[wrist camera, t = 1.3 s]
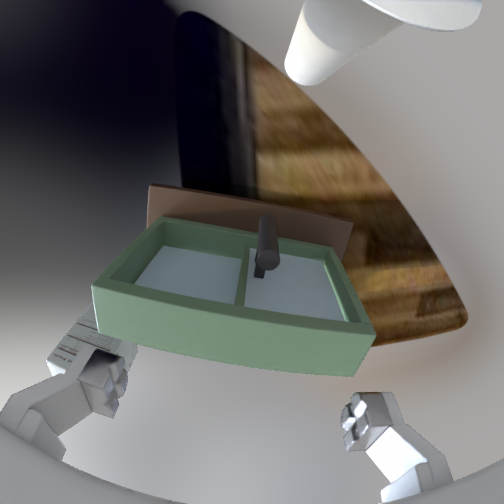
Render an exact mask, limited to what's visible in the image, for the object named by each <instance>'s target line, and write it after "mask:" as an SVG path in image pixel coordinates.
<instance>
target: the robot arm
mask: <svg viewBox="0 0 504 504" xmlns="http://www.w3.org/2000/svg"><path fill="white" fill-rule="evenodd" d="M124 366H125V359H124V357H122V356H119V355H116V354H113V353H110V352H107V351H105V350H102V349H99V348H96V347H93V346H90V345H88V344H85V345H84V346H82V347H81V349H80V350H79V352H78V353H77V355H76V356H75V358H74V359H73V361H72V362H71V364H70V365H69V367H68V368H67V370H66V371H65V373H64V374H62V373H59V374H57V375H55V376H53V377H51V378H49V379H46V380H44V381H42V382H39V383H38V384H35V385H33V386H31V387H28V388H26V389H24V390H22V391H19V392H17V393H15V394H13V395H12V396H11V397H10V398H9V400H8V402H7V403H6V404H5V406H4V407H3V409H2V411H1V412H0V504H185V503H180V502H176V501H171V500H167V499H163V498H159V497H155V496H152V495H148V494H144V493H141V492H138V491H134V490H131V489H128V488H125V487H122V486H119V485H116V484H114V483H111V482H108V481H106V480H103V479H100V478H98V477H95V476H93V475H91V474H88V473H86V472H84V471H81V470H79V469H77V468H75V467H73V466H71V465H69V464H67V463H64V462H62V458H63V456H64V454H65V451H66V448H65V446H64V445H63V444H62V442H61V441H60V439H59V438H58V437H57V436H59V435H60V434H62V433H63V432H65V431H66V430H68V429H69V428H71V427H72V426H74V425H75V424H77V423H78V422H79V421H81V420H82V419H84V418H85V417H87V416H88V415H89V414H91V413H92V412H95V413H98V414H101V415H104V416H107V417H110V418H114V416H115V413H116V411H117V409H118V406H119V402H118V398H120V397H121V396H123V395H124V393H125V390H126V386H127V380H128V376H127V371H126V370H125V369H124ZM341 427H342V429H344V431H345V432H346V434H345V436H344V442H345V448H346V451H366V453H367V454H368V455H369V456H370V458H371V459H372V460H373V461H374V462H375V464H376V465H377V466H378V467H379V469H380V470H381V471H382V472H383V473H384V475H385V476H386V477H387V478H388V479H389V481H390V482H391V484H389V485H387V486H386V487H384V488H383V489H382V490H381V497H382V503H378V504H504V458H503V459H501V460H499V461H497V462H496V463H493V464H491V465H490V466H488V467H486V468H484V469H481V470H479V471H477V472H475V473H473V474H470V475H468V476H466V477H463V478H461V479H458V480H456V481H453V478H452V475H451V472H450V469H449V466H448V463H447V460H446V458H445V456H444V455H443V454H442V453H441V452H440V451H438V450H437V449H436V448H435V447H434V446H433V445H431V444H430V443H429V442H428V441H427V440H426V439H424V438H423V437H422V436H421V435H420V434H418V433H417V432H416V431H415V430H414V429H413V428H412V427H411V426H409V425H408V424H405V423H404V420H403V418H402V415H401V412H400V410H399V407H398V404H397V402H396V399H395V396H394V394H393V393H392V392H356V393H354V394H353V396H352V397H351V403H349V404H347V405H346V406H345V408H344V409H343V410H342V414H341Z"/></svg>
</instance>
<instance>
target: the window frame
mask: <svg viewBox="0 0 504 504" xmlns="http://www.w3.org/2000/svg"><path fill="white" fill-rule="evenodd" d="M265 214H270V215H272V216H273V217H274V218H275V221H276V229H277V237H278V245H279V253H280V254H286V255H291V256H297V257H302V258H308V259H313V260H319V261H322V263H323V265H324V268H325V270H326V273H327V275H328V278H329V280H330V283H331V286H332V288H333V291H334V293H335V296H336V298H337V301H338V304H339V306H340V309H341V312H342V314H343V317H344V320H345V321H338V320H330V319H323V318H315V317H308V316H301V315H294V314H287V313H281V312H274V311H268V310H262V309H256V308H250V307H244V306H238V305H235V299H236V292H237V288H238V282H239V275H240V269H241V263H242V256H243V250H244V246H247V247H250V248H253V249H257V246H258V230H259V219H260V217H261V216H262V215H265ZM353 225H354V223H353V222H352V220H350V219H346V218H342V217H337V216H333V215H328V214H324V213H319V212H314V211H310V210H305V209H300V208H295V207H290V206H285V205H280V204H275V203H270V202H265V201H260V200H254V199H249V198H243V197H238V196H232V195H226V194H220V193H214V192H208V191H202V190H196V189H189V188H182V187H175V186H169V185H161V184H152V185H150V186H149V197H148V213H147V229H146V230H145V231H144V232H143V233H142V234H141V235H140V236H139V237H138V238H137V239H135V241H133V242H132V243H131V244H130V245H129V246H128V247H127V248H126V249H125V250H124V251H123V252H122V253H121V254H120V255H119V256H118V257H117V258H116V259H115V260H114V262H112V263H111V264H110V265H109V266H108V267H107V268H106V269H105V270H104V272H103V273H102V274H101V275H100V276H99V277H98V278H97V279H96V280H95V281H94V282H93V284H92V294H93V302H94V309H95V315H96V321H97V327H98V332H99V333H101V334H105V335H108V336H111V337H115V338H118V339H121V340H125V341H128V342H132V343H136V344H139V345H143V346H147V347H152V348H155V349H159V350H163V351H168V352H172V353H176V354H181V355H185V356H190V357H195V358H200V359H205V360H211V361H216V362H222V363H227V364H233V365H239V366H245V367H252V368H259V369H267V370H275V371H284V372H292V373H302V374H314V375H328V376H345V377H353V376H354V375H355V373H356V372H357V370H358V368H359V366H360V365H361V363H362V361H363V359H364V357H365V356H366V354H367V352H368V350H369V349H370V347H371V345H372V343H373V341H374V339H375V337H376V333H375V331H374V328H373V326H372V325H371V322H370V319H369V317H368V315H367V313H366V311H365V309H364V307H363V305H362V303H361V301H360V299H359V297H358V295H357V293H356V291H355V289H354V287H353V285H352V283H351V281H350V279H349V277H348V275H347V273H346V271H345V269H344V267H343V266H342V264H341V263H342V260H343V257H344V254H345V250H346V247H347V244H348V241H349V238H350V235H351V231H352V228H353Z"/></svg>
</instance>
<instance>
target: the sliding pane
mask: <svg viewBox="0 0 504 504" xmlns="http://www.w3.org/2000/svg"><path fill="white" fill-rule="evenodd" d="M235 305H238V306H244V307H250V308H256V309H262V310H268V311H274V312H281V313H287V314H294V315H301V316H308V317H315V318H323V319H330V320H338V321H345V320H344V317H343V314H342V312H341V309H340V306H339V304H338V301H337V298H336V296H335V293H334V291H333V288H332V286H331V283H330V280H329V278H328V275H327V273H326V270H325V268H324V265H323V263H322V261H319V260H313V259H308V258H302V257H297V256H291V255H286V254H280V253H279V245H278V237H277V229H276V221H275V218H274V217H273V216H272V215H270V214H265V215H262V216H261V217H260V219H259V230H258V246H257V249H253V248H250V247H247V246H244V250H243V256H242V263H241V269H240V275H239V282H238V288H237V294H236V301H235Z"/></svg>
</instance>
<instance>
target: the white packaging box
mask: <svg viewBox="0 0 504 504" xmlns="http://www.w3.org/2000/svg"><path fill="white" fill-rule="evenodd" d="M85 344H88V345H90V346H93V347H96V348H99V349H102V350H105V351H107V352H110V353H113V354H116V355H119V356H122V357H124V359H125V366H124V369H125V370H126V371H127V374H128V371H129V369H130V367H131V365H132V363H133V361H134V359H135V357H136V355H137V352H138V350H137V344H136V343H132V342H128V341H125V340H121V339H118V338H115V337H111V336H108V335H105V334H101V333H99V332H98V327H97V321H96V315H95V309H94V303H91V304H90V305H89V306H88V308H87V309H86V310H85V311H84V312H83V314H82V315H81V316H80V317H79V318H78V320H77V321H76V322H75V323H74V325H73V326H72V327H71V328H70V330H69V331H68V332H67V333H66V335H65V336H64V337H63V339H62V340H61V341H60V342H59V344H58V345H57V346H56V348H55V349H54V350H53V352H52V353H51V354H50V356H49V357H48V358H47V364H48V366H49V369H50V371H51V374H52V376H55V375H57V374H59V373H62V374H64V373H65V371H66V370H67V368H68V367H69V365H70V364H71V362H72V361H73V359H74V358H75V356H76V355H77V353H78V352H79V350H80V349H81V347H82V346H84V345H85Z"/></svg>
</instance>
